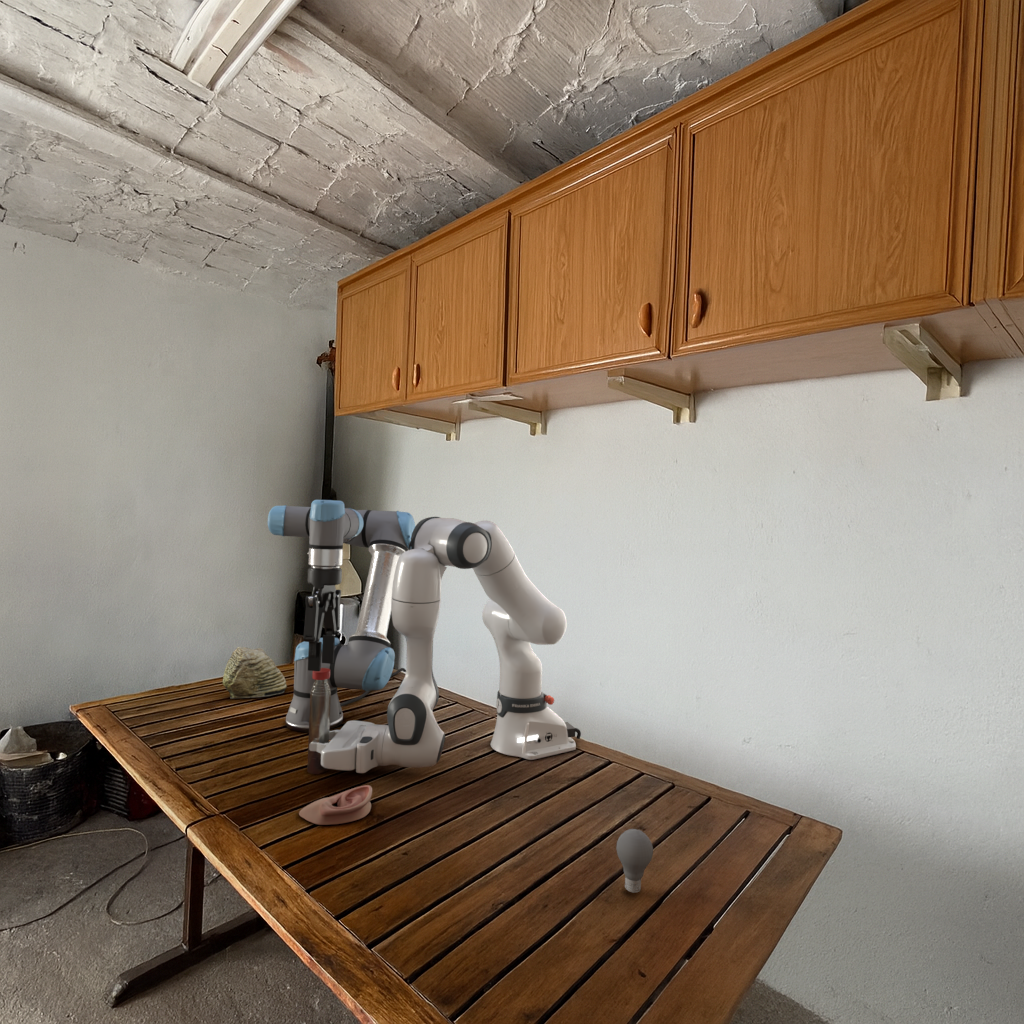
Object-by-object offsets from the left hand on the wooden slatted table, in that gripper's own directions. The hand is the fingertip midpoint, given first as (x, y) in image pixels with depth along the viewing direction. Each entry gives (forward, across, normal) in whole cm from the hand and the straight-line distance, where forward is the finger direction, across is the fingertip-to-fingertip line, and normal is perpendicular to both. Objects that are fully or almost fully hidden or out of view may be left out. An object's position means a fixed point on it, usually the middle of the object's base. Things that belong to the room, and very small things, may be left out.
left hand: (321, 666), depth 146 cm
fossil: (+24, -46, -43) cm, 67 cm away
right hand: (+17, 0, -1) cm, 17 cm away
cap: (+1, 0, 0) cm, 1 cm away
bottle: (+24, 0, 0) cm, 24 cm away
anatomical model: (+24, +17, +12) cm, 32 cm away
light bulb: (+24, +30, +71) cm, 81 cm away
